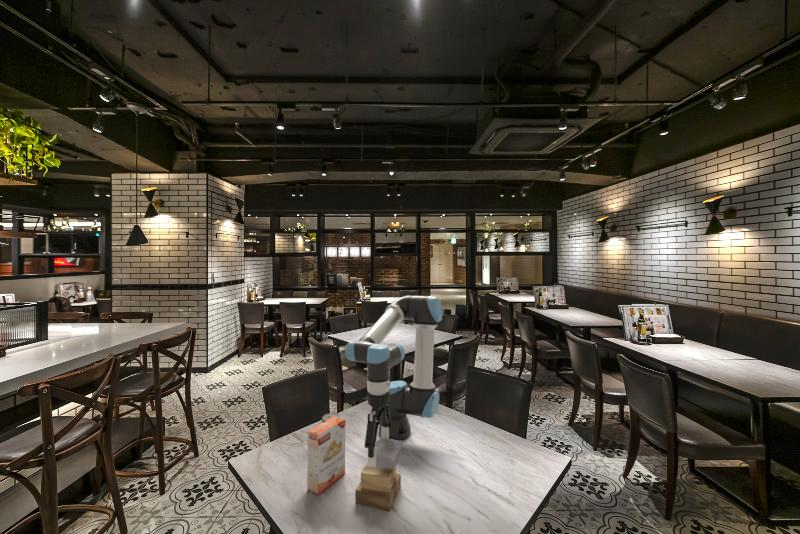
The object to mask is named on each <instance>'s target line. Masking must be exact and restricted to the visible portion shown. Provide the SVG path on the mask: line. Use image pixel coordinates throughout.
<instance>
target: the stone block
mask: <svg viewBox="0 0 800 534" xmlns="http://www.w3.org/2000/svg"><path fill="white" fill-rule="evenodd" d="M375 446H376V467H378V468H395V467H396V468H397V465H398V462H399V459H400V456H401V452H402V450H403V441H402V440H398V441H397V440H393V439H384V440H381V439H379V440H378V441H377V440H376V443H375Z"/></svg>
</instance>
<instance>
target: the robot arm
mask: <svg viewBox="0 0 800 534" xmlns="http://www.w3.org/2000/svg"><path fill="white" fill-rule="evenodd" d="M404 320H405V321H406V320H409V321H412V324H413V326H414V327H415V341H414V342H415V343H414V348H415V349H414V361H413V362H414V365H413V381H412V382H410V384H409V386H408V384H407V382H406V381H404V380H394V381H390V369H392V368H393V367H395V366H397V365H399V364H400V363H401V362H402V361H403V360H404V358H405V355H406V352H405V348H404V347H403V346H402V345H401V343H399V342H393V343H389V344H385V343H383V342H384V340H385V339H386V338H387V337H388V335H389V334H390V333H391V332H392V330H393V329H394V328H396V326H397V325H398V324H400V323H402V322H403V321H404ZM442 320H443V306H442V303H441V300H440V299H439V297H437V296H433V295H432V296H431V295H410V294H409V295H408V294H407V295H403V296H401V297H399V298H397V299H395V300H394V301H392V302H391V303H390V304H389V305H387V307H386V308H385V310H384V313H383V314H382V315H381V316H380V317H379V319H377V321H376V322H375V323H374V324H373V325H372V326H371V327H370V328H369V329H368V330H367V331H366V332H365V333H364V334H363V336H362V337H360V339H359V340H358V341H357V340H351V341H348V343H347V344H346V346H345V350H344V351H345V353H344V354H345V357H346V359H347V360H348V361H353V362H356V363H363V364H364V363H365V364H366V365H367V366H366V367H367V369H366V370H367V380H366V381H367V382H366V385H367V386H366V387H367V388H366V390H367V395H366V396H367V397H366V398H367V405H369V406H370V407H371V410H370V413H368V414H367V424H366V430H365V438H364V439H365V441H364V448H366V449H367V462H368V466H372V467H376V446H375V444H376V442H377V438H378V437H377V436H380V440H384V439H393V440H397V441H402V440H403V441H404V440H405V439H407V438H408V437H410V435H411V432H412V429H411V423H410V422H409V418H408V415H411V416H415V417H421V418H427V419H432V418H433V417H434V416H435V414H436V413H437V410H438V408H439V403H440V392H439V391H438V390H436V385H435V383H434V382H433V371H434V347H435V345H434V344H435V329H436V328H437V327H438V326H439V323H440V322H441V321H442Z"/></svg>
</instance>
